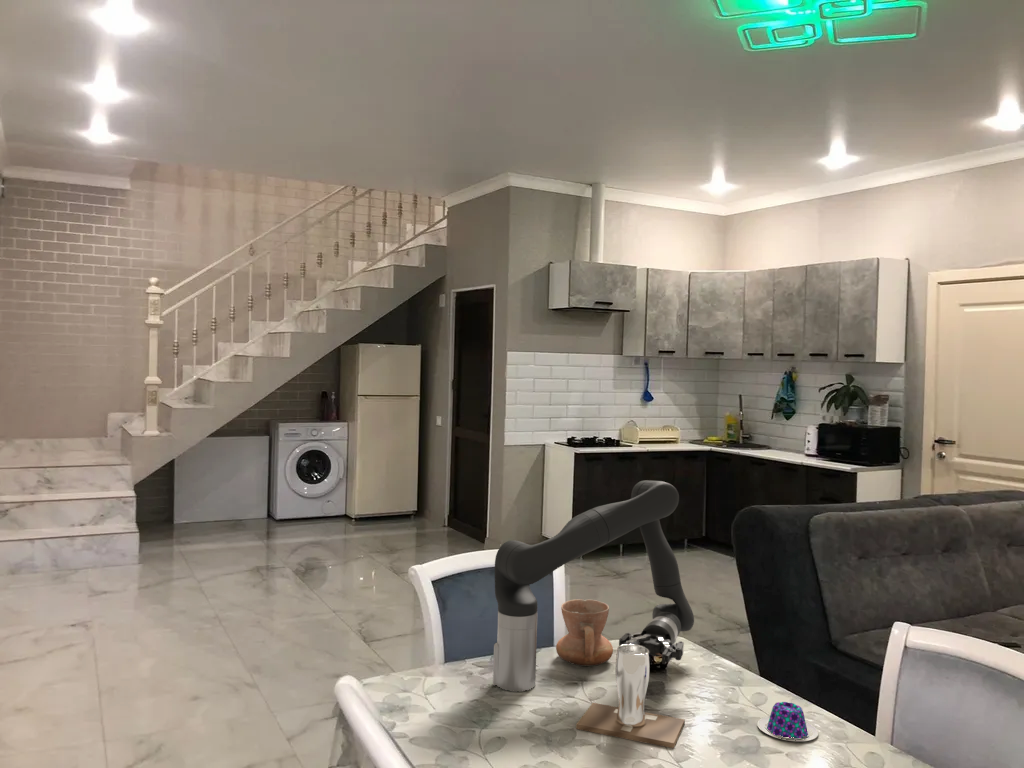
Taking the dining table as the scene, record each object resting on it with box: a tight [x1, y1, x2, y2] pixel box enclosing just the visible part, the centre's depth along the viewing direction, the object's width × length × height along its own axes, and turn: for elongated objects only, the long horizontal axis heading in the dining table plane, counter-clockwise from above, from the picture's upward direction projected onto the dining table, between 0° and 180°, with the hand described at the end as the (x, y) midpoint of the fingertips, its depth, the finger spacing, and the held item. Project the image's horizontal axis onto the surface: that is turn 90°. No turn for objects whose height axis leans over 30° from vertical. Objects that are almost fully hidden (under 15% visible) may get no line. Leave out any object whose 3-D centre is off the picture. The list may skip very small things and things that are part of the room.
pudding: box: [757, 701, 819, 742], centre depth 166 cm, size 12×12×5 cm
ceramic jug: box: [555, 598, 614, 667], centre depth 203 cm, size 18×14×14 cm
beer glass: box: [615, 644, 650, 727], centre depth 166 cm, size 7×7×15 cm
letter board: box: [575, 702, 686, 749], centre depth 166 cm, size 20×12×1 cm, turn 68°
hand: (644, 656), depth 177 cm, fingers open, 8 cm apart
